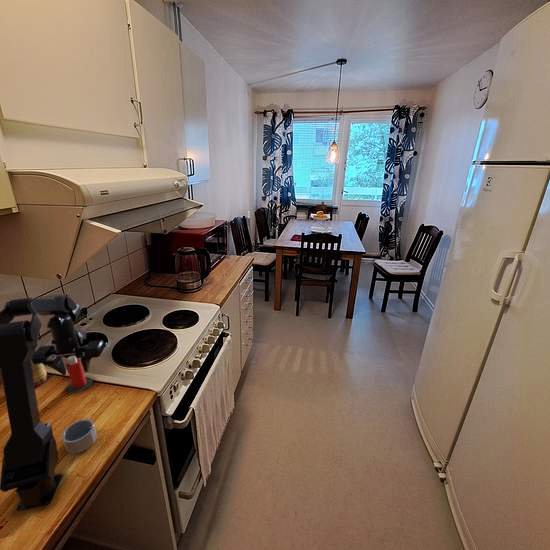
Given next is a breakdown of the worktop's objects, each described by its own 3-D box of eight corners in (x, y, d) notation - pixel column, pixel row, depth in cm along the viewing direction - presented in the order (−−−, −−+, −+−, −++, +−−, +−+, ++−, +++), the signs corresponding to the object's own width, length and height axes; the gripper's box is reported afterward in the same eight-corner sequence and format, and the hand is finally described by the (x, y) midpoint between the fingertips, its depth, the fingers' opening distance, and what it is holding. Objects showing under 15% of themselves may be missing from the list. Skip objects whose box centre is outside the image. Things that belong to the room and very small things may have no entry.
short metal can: (91, 452, 74) (87, 439, 72) (61, 457, 73) (56, 444, 71) (101, 428, 80) (97, 417, 79) (73, 433, 79) (68, 421, 77)
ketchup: (83, 387, 94) (75, 360, 90) (71, 389, 93) (62, 362, 89) (88, 379, 97) (80, 353, 93) (75, 381, 97) (67, 354, 92)
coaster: (87, 391, 93) (87, 390, 93) (63, 394, 92) (63, 393, 91) (95, 376, 99) (95, 375, 99) (72, 379, 98) (72, 378, 98)
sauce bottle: (35, 389, 93) (15, 338, 86) (19, 386, 95) (-1, 336, 87) (53, 375, 99) (36, 327, 92) (38, 373, 101) (20, 324, 93)
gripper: (105, 316, 97) (114, 354, 103) (43, 321, 93) (56, 360, 99) (93, 334, 87) (104, 375, 93) (22, 341, 83) (38, 383, 89)
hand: (76, 372), depth 93 cm, fingers open, 6 cm apart
